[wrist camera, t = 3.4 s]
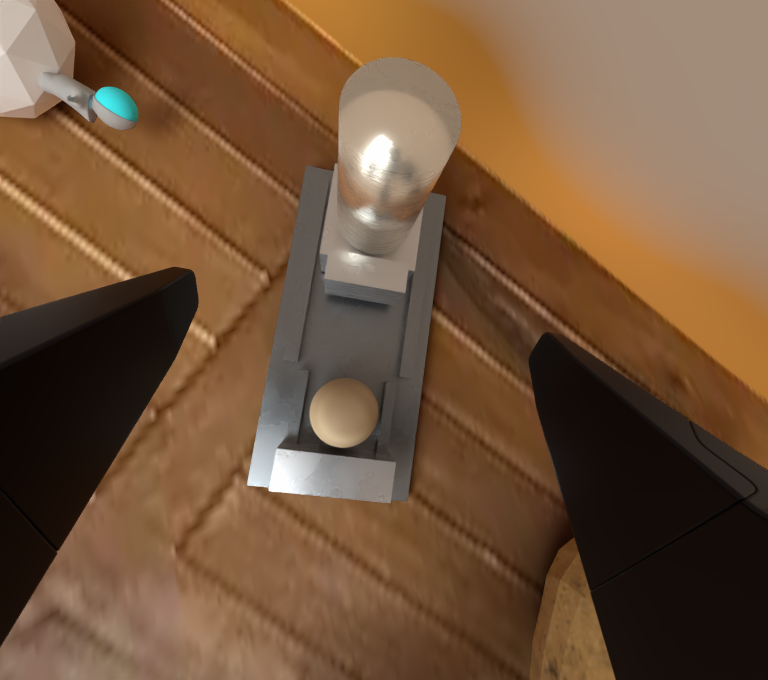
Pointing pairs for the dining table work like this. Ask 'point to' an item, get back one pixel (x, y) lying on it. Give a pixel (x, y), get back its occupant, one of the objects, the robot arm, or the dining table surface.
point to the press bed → (344, 366)
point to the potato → (568, 626)
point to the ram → (385, 176)
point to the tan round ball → (343, 412)
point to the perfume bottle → (49, 68)
